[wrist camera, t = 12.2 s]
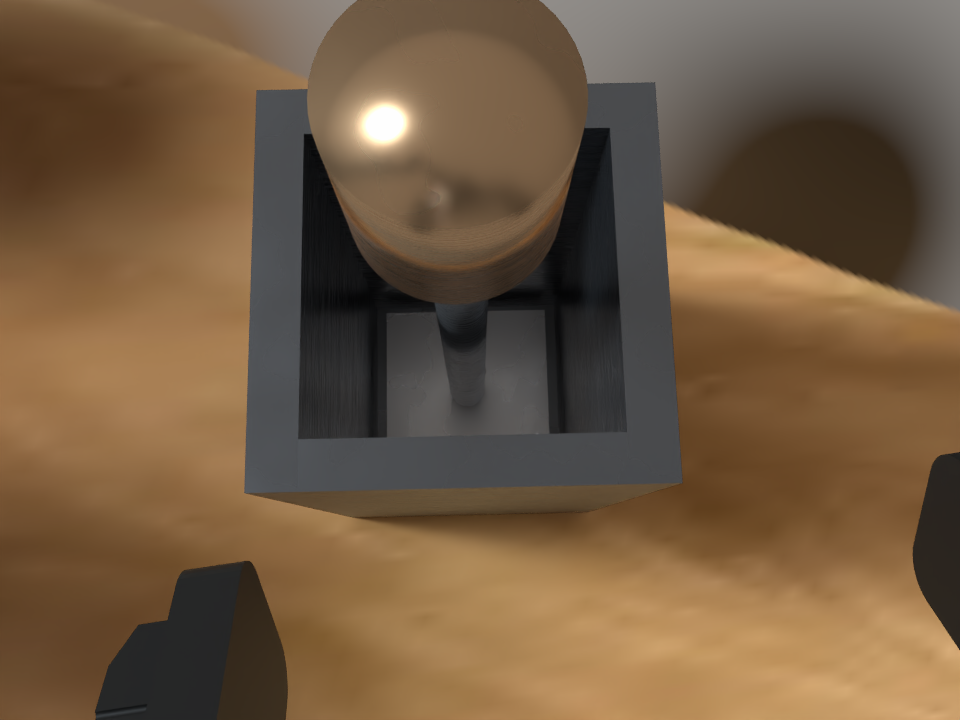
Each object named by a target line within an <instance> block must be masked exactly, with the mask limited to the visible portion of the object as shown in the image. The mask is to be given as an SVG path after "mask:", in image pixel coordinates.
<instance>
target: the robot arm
mask: <svg viewBox="0 0 960 720" xmlns="http://www.w3.org/2000/svg"><path fill="white" fill-rule="evenodd" d="M913 564H914V570H915V574H916V578H917V581H918V584H919V586H920V589H921V591H922V593H923V595H924V597H925V599H926V600H927V602H928V603H929V605H930V606H931V608H932V609H933V611H934V612H935V614H936V615H937V617H938V618H939V620H940V621H941V623H942V624H943V626H944V627H945V629H946V630H947V632H948V633H949V635H950V636H951V638H952V639H953V641H954V642H955V644H956V645H957V647H958V648H959V650H960V452H958V453H952V454H945V455H941V456H939V457H937V458H936V460H935V461H934V463H933V465H932V468H931V471H930V475H929V480H928V484H927V488H926V493H925V497H924V501H923V506H922V510H921V515H920V519H919V523H918V528H917V532H916V536H915V541H914V546H913ZM287 693H288V687H287V670H286V662H285V656H284V651H283V647H282V644H281V641H280V638H279V635H278V632H277V629H276V626H275V623H274V621H273V618H272V615H271V612H270V609H269V606H268V603H267V601H266V598H265V595H264V592H263V589H262V586H261V583H260V581H259V578H258V575H257V572H256V570H255V567H254V566H253V564H252V563H251V562H250V561H243V562H236V563H230V564H223V565H216V566H209V567H203V568H196V569H189V570H184V571H183V572H182V573H181V574H180V576H179V578H178V580H177V584H176V588H175V592H174V596H173V600H172V604H171V608H170V612H169V616H168V620H167V621H160V622H154V623H147V624H141V625H138V626H137V628H136V629H135V631H134V632H133V633H132V635H131V636H130V637H129V639H128V640H127V642H126V643H125V644H124V646H123V647H122V648H121V650H120V651H119V653H118V654H117V655H116V657H115V658H114V660H113V661H112V662H111V664H110V665H109V666H108V670H107V673H106V677H105V680H104V683H103V687H102V690H101V693H100V697H99V700H98V704H97V707H96V710H95V713H96V720H286V709H287Z"/></svg>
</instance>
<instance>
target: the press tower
mask: <svg viewBox="0 0 960 720" xmlns="http://www.w3.org/2000/svg"><path fill="white" fill-rule="evenodd" d="M587 87H588V110H587V116H586V122H585V128H584V131H583V135H582V139H581V143H580V147H579V151H578V155H577V159H576V163H575V167H574V171H573V174H572V178H571V182H570V186H569V190H568V194H567V198H566V202H565V206H564V210H563V214H562V218H561V221H560V225H559V228H558V232H557V235H556V238H555V240H554V242H553V244H552V247H551V249H550V251H549V252H548V254H547V255H546V257H545V258H544V260H543V261H542V263H541V264H540V265H539V266H538V267H537V268H536V270H535V271H534V272H533V273H532V274H531V275H529V276H528V277H527V278H526V279H525V280H524V281H523V282H521V283H520V284H518V285H517V286H515V287H514V288H512V289H511V290H509V291H507V292H505V293H503V294H501V295H499V296H496V297H493V298H490V299H488V311H511V310H545V334H546V360H547V385H548V411H549V434H517V435H473V436H429V437H387V313H418V312H436V308H435V303H433V302H428V301H424V300H421V299H418V298H415V297H412V296H410V295H408V294H406V293H403V292H401V291H400V290H398V289H396V288H395V287H393V286H392V285H390V284H389V283H387V282H386V281H385V280H384V279H383V278H381V277H380V276H379V275H378V274H377V273H376V272H375V271H374V270H373V269H372V268H371V267H370V265H369V264H368V263H367V261H366V260H365V258H364V257H363V256H362V254H361V252H360V250H359V248H358V247H357V245H356V243H355V240H354V238H353V235H352V233H351V230H350V228H349V226H348V223H347V221H346V218H345V216H344V213H343V211H342V208H341V206H340V203H339V201H338V198H337V196H336V193H335V191H334V188H333V186H332V183H331V181H330V178H329V176H328V174H327V171H326V169H325V166H324V164H323V161H322V159H321V156H320V154H319V151H318V149H317V146H316V143H315V140H314V138H313V135H312V132H311V127H310V122H309V117H308V107H307V92H308V89H299V90H257V95H256V128H255V161H254V194H253V227H252V260H251V293H250V326H249V359H248V392H247V425H246V458H245V491H244V493H246V494H250V495H255V496H259V497H264V498H268V499H273V500H277V501H282V502H286V503H291V504H295V505H299V506H304V507H308V508H313V509H317V510H322V511H326V512H331V513H335V514H339V515H344V516H348V517H394V516H437V515H480V514H523V513H566V512H589V511H593V510H596V509H599V508H602V507H606V506H609V505H612V504H616V503H619V502H622V501H625V500H629V499H632V498H635V497H639V496H642V495H645V494H648V493H652V492H655V491H658V490H661V489H665V488H668V487H671V486H675V485H678V484H681V483H683V482H682V468H681V453H680V439H679V424H678V409H677V395H676V380H675V365H674V351H673V336H672V322H671V307H670V292H669V278H668V263H667V249H666V234H665V219H664V205H663V190H662V176H661V162H660V146H659V132H658V117H657V104H656V88H655V82H654V83H603V84H587Z"/></svg>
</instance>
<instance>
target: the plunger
mask: <svg viewBox="0 0 960 720" xmlns="http://www.w3.org/2000/svg"><path fill="white" fill-rule="evenodd" d="M307 107H308V117H309V122H310V127H311V132H312V135H313V138H314V140H315V143H316V146H317V149H318V151H319V154H320V156H321V159H322V161H323V164H324V166H325V169H326V171H327V174H328V176H329V178H330V181H331V183H332V186H333V188H334V191H335V193H336V196H337V198H338V201H339V203H340V206H341V208H342V211H343V213H344V216H345V218H346V221H347V223H348V226H349V228H350V230H351V233H352V235H353V238H354V240H355V243H356V245H357V247H358V248H359V250H360V252H361V254H362V256H363V257H364V258H365V260H366V261H367V263H368V264H369V265H370V267H371V268H372V269H373V270H374V271H375V272H376V273H377V274H378V275H379V276H380V277H381V278H383V279H384V280H385V281H386V282H387V283H389V284H390V285H392V286H393V287H395V288H396V289H398V290H400V291H401V292H403V293H406V294H408V295H410V296H412V297H415V298H418V299H421V300H424V301H428V302H433V303H435V308H436V312H418V313H387V437H429V436H473V435H517V434H549V411H548V385H547V360H546V334H545V310H511V311H488V299H490V298H493V297H496V296H499V295H501V294H503V293H505V292H507V291H509V290H511V289H512V288H514V287H515V286H517V285H518V284H520V283H521V282H523V281H524V280H525V279H526V278H527V277H528V276H529V275H531V274H532V273H533V272H534V271H535V270H536V268H537V267H538V266H539V265H540V264H541V263H542V261H543V260H544V258H545V257H546V255H547V254H548V252H549V251H550V249H551V247H552V244H553V242H554V240H555V238H556V235H557V232H558V228H559V225H560V221H561V218H562V214H563V210H564V206H565V202H566V198H567V194H568V190H569V186H570V182H571V178H572V174H573V171H574V167H575V163H576V159H577V155H578V151H579V147H580V143H581V139H582V135H583V131H584V128H585V122H586V116H587V110H588V87H587V79H586V74H585V70H584V66H583V62H582V59H581V56H580V54H579V52H578V49H577V47H576V45H575V43H574V41H573V39H572V38H571V36H570V34H569V33H568V31H567V29H566V28H565V27H564V25H563V24H562V23H561V22H560V20H559V19H558V18H557V17H556V15H554V13H553V12H551V11H550V10H549V9H548V8H547V7H546V6H545V5H544V4H543V3H542V2H540V1H539V0H357V1H356V2H355V3H354V4H352V5H351V6H350V7H349V8H348V9H347V10H346V11H345V12H344V13H343V14H342V15H341V16H340V17H339V18H338V19H337V20H336V22H335V23H334V24H333V26H332V27H331V28H330V30H329V31H328V32H327V34H326V36H325V37H324V39H323V41H322V43H321V45H320V46H319V48H318V51H317V53H316V56H315V59H314V61H313V64H312V68H311V72H310V76H309V81H308V92H307Z"/></svg>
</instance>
